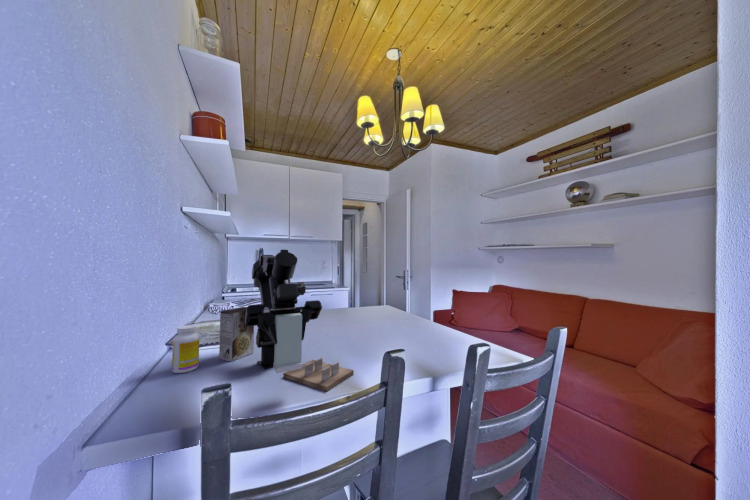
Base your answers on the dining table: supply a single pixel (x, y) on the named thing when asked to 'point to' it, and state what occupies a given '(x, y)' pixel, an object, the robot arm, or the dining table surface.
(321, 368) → the hinge base
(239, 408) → the dining table surface
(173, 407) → the dining table surface
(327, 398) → the dining table surface
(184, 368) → the supplement bottle
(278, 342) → the pale green pillar
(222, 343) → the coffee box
